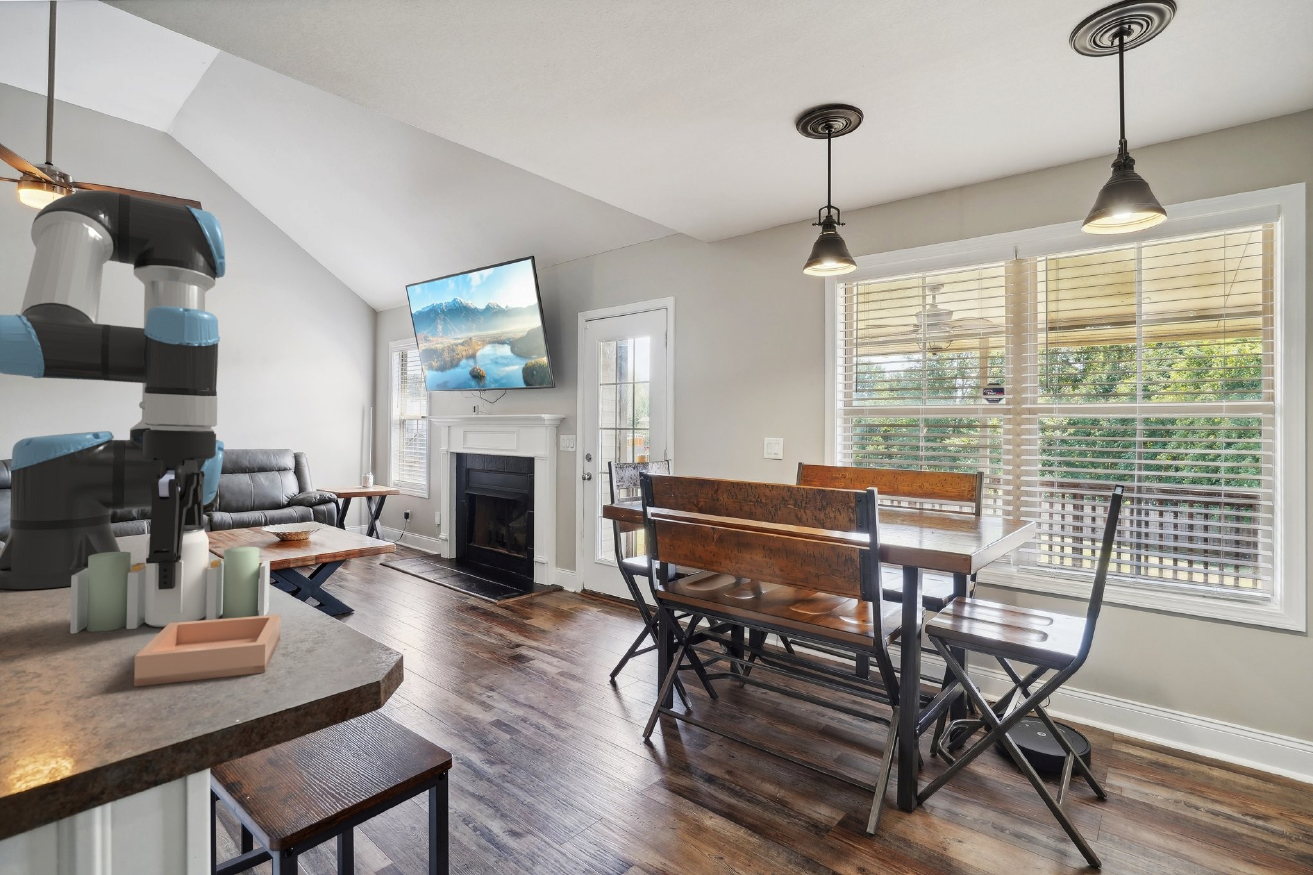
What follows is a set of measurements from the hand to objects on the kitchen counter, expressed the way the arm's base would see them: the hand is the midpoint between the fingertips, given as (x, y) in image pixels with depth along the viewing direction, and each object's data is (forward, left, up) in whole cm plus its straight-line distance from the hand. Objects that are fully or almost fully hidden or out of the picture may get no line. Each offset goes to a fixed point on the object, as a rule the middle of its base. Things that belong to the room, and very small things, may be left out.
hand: (176, 605), depth 81 cm
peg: (0, -7, -2) cm, 7 cm away
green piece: (0, +7, -2) cm, 7 cm away
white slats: (0, 0, -2) cm, 2 cm away
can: (0, 0, -2) cm, 2 cm away
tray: (+17, +8, -2) cm, 19 cm away
